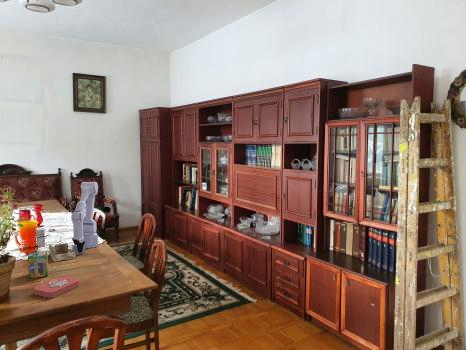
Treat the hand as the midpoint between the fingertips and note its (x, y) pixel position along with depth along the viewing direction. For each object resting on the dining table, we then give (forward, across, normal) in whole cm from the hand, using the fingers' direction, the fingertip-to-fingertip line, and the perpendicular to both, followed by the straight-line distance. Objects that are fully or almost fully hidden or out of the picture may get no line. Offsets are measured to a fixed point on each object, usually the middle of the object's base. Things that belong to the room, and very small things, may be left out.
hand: (78, 251), depth 237 cm
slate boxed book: (+2, 0, 0) cm, 2 cm away
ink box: (+2, -32, -19) cm, 37 cm away
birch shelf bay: (+1, +1, -10) cm, 10 cm away
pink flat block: (+2, +53, -23) cm, 58 cm away
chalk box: (+2, +28, -27) cm, 39 cm away
